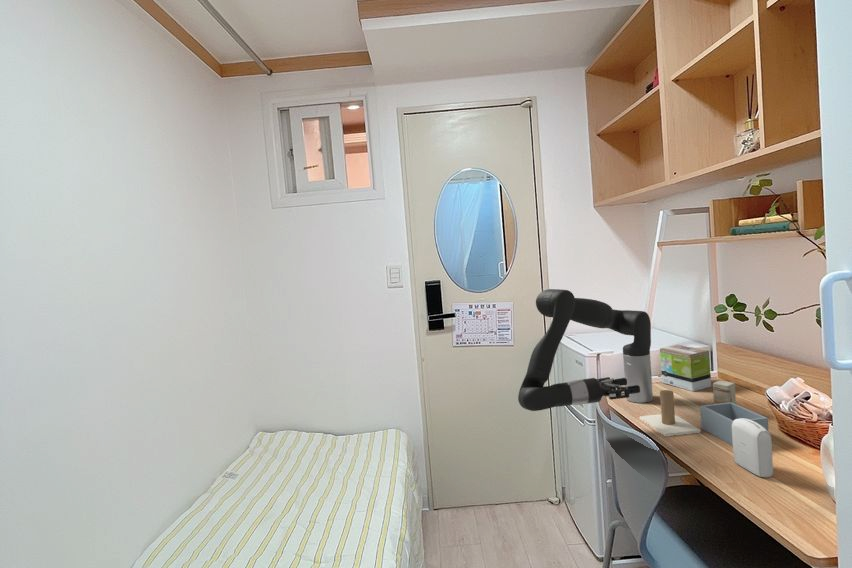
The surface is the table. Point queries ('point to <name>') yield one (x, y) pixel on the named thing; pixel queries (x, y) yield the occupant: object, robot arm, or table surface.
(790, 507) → the table surface
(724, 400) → the skincare box
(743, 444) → the photo printer
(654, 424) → the lid
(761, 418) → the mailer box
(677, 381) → the tea box
